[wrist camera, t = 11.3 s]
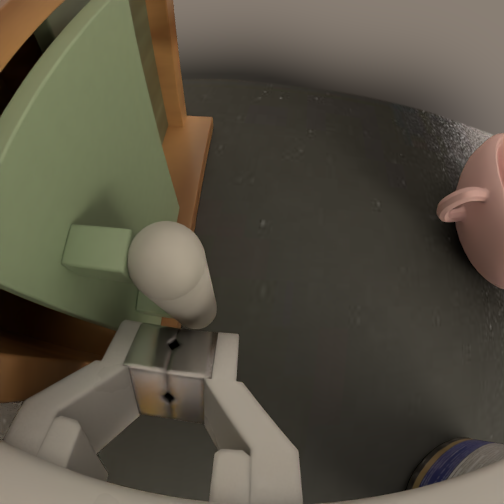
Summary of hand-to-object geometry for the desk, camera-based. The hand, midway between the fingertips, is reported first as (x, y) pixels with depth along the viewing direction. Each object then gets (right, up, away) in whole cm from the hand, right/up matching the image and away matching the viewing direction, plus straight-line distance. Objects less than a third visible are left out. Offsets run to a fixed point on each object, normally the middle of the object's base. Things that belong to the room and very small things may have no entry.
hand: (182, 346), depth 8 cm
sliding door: (-1, +1, +6) cm, 7 cm away
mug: (+17, +4, +10) cm, 20 cm away
